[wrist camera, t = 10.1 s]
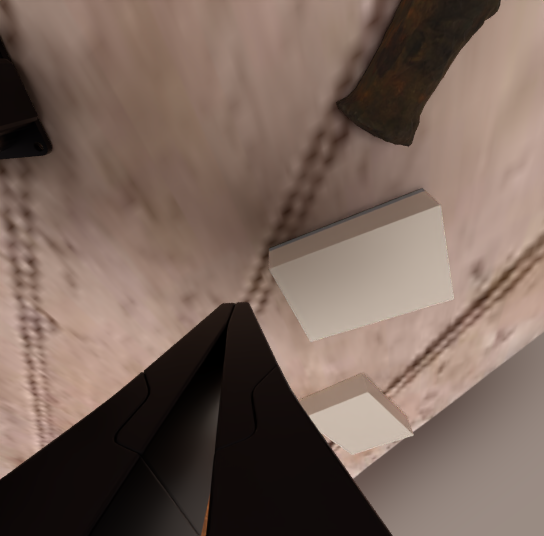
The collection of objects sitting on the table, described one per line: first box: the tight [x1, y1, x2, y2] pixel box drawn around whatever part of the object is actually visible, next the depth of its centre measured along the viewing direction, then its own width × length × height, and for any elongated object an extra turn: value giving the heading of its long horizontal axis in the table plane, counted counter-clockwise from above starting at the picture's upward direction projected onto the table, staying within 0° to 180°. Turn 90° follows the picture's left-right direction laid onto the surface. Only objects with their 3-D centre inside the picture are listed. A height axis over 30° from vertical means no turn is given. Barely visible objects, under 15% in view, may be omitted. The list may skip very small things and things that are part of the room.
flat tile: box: [269, 189, 454, 342], centre depth 22 cm, size 11×8×3 cm
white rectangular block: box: [299, 373, 413, 455], centre depth 34 cm, size 3×8×11 cm
